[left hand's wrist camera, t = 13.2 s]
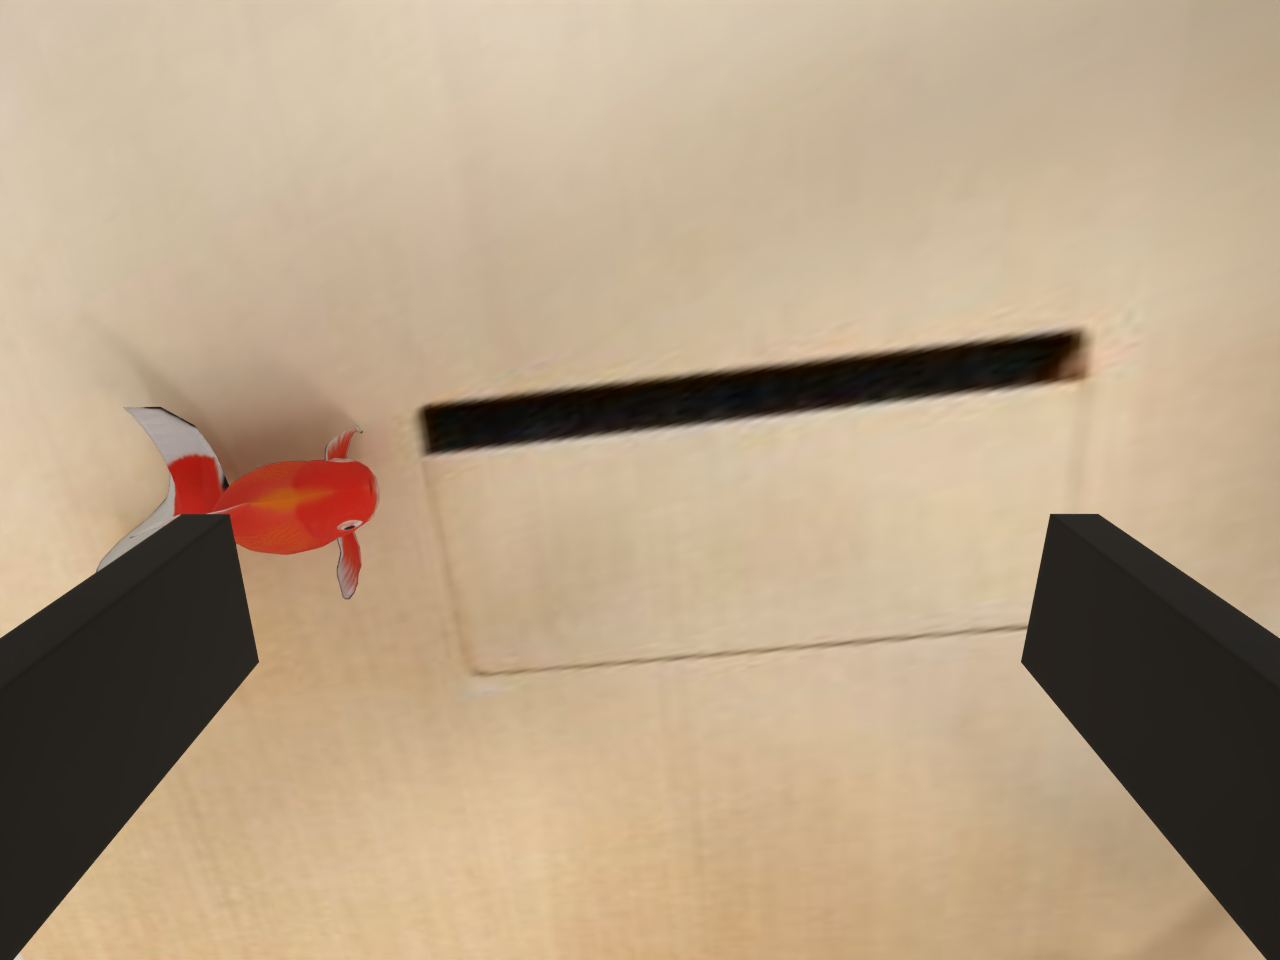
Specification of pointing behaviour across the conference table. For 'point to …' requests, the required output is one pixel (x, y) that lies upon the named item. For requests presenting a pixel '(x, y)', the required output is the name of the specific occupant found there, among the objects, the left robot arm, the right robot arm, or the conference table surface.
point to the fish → (262, 496)
